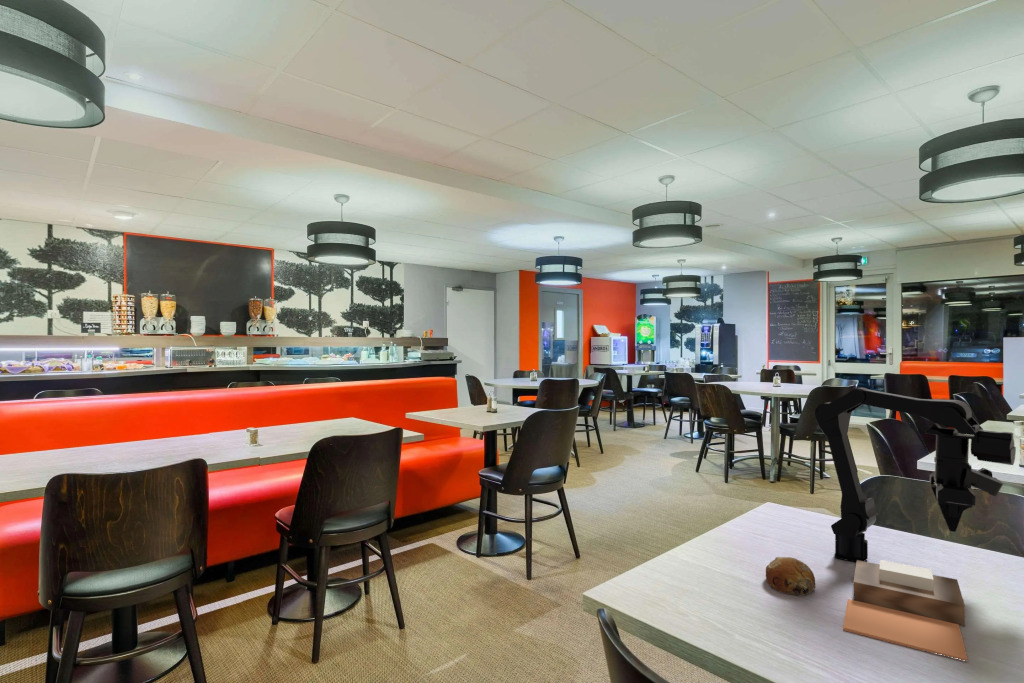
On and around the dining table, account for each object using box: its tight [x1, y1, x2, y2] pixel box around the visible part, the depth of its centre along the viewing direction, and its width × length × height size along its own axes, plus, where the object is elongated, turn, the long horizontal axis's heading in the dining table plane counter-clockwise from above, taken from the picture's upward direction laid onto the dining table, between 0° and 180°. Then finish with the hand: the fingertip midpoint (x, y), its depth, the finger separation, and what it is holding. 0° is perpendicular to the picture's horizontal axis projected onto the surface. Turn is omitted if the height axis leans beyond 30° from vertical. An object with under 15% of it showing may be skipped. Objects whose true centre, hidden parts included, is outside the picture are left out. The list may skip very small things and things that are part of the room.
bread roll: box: [765, 556, 816, 596], centre depth 120 cm, size 10×10×8 cm
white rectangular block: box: [879, 559, 934, 591], centre depth 113 cm, size 9×6×2 cm, turn 55°
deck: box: [853, 560, 966, 627], centre depth 113 cm, size 18×14×4 cm
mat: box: [842, 598, 969, 662], centre depth 102 cm, size 18×14×1 cm
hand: (949, 525), depth 121 cm, fingers open, 9 cm apart
